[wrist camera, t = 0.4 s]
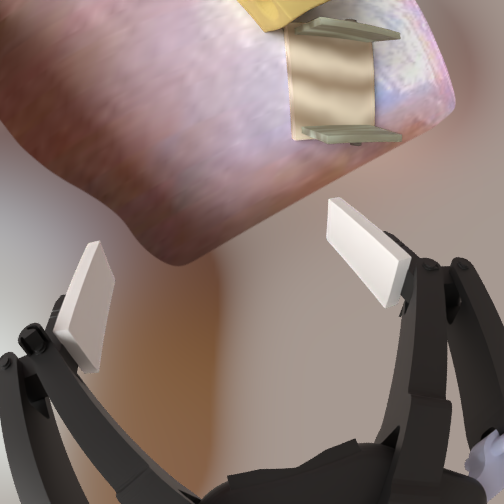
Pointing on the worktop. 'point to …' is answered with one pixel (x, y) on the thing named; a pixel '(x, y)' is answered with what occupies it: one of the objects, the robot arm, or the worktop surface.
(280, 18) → the cheese
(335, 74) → the holder
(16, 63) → the worktop surface
